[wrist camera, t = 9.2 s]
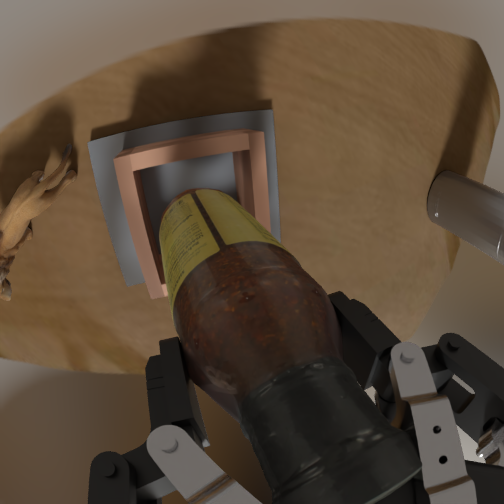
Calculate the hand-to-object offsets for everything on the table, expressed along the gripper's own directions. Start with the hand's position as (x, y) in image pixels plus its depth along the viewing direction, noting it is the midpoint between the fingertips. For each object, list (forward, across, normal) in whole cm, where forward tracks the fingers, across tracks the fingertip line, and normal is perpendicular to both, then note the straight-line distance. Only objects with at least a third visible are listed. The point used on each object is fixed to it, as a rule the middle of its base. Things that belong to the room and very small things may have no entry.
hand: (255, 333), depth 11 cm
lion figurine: (+19, +16, -3) cm, 25 cm away
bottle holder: (+19, 0, 0) cm, 19 cm away
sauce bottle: (+12, 0, 0) cm, 12 cm away
